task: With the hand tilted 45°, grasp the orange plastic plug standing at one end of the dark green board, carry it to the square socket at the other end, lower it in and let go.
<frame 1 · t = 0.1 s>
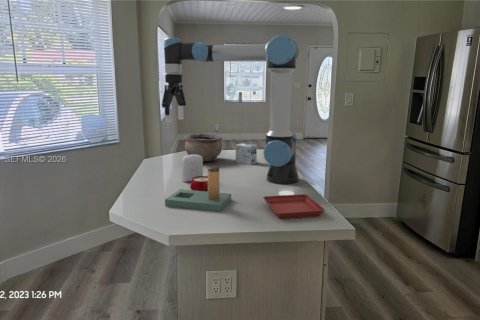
hand: (174, 120, 172), 28 cm above the kitchen island, tool pointing down, fingers open, 13 cm apart
socket board: (199, 202, 144), on the kitchen island
photo printer: (192, 180, 177), on the kitchen island
alarm clock: (202, 189, 164), on the kitchen island
plug: (213, 197, 142), point 2 cm above the kitchen island, touching socket board
ceramic bowl: (204, 161, 219), on the kitchen island
plant saucer: (292, 211, 137), on the kitchen island
light bulb box: (246, 163, 214), on the kitchen island
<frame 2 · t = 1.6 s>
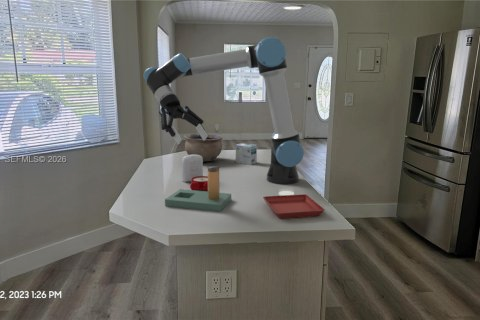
hand: (193, 140, 145), 24 cm above the kitchen island, tool tilted 45°, fingers open, 13 cm apart
nothing on the kitchen island moved.
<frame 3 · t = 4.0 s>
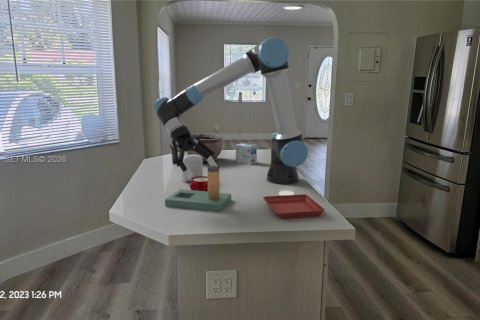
hand: (204, 174, 142), 11 cm above the kitchen island, tool tilted 45°, fingers open, 13 cm apart
nothing on the kitchen island moved.
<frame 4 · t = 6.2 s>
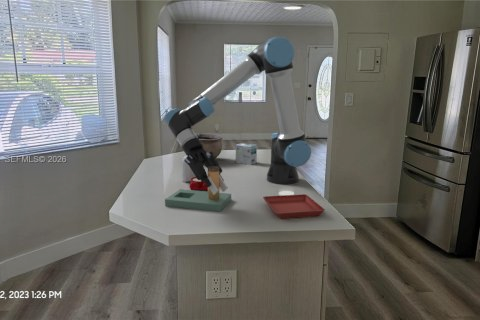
hand: (220, 191, 139), 6 cm above the kitchen island, tool tilted 45°, fingers closed on plug, 4 cm apart
plug: (213, 197, 142), point 2 cm above the kitchen island, touching gripper, socket board
everything else where it was.
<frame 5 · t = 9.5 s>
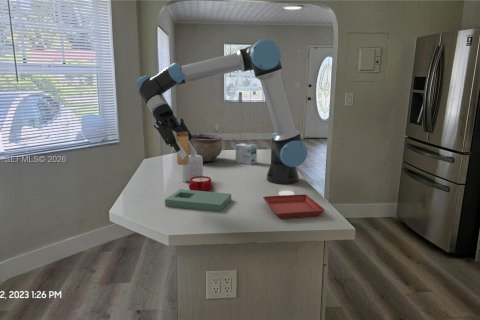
hand: (189, 156, 140), 19 cm above the kitchen island, tool tilted 45°, fingers closed on plug, 4 cm apart
plug: (183, 163, 143), point 15 cm above the kitchen island, touching gripper
everything else where it was.
when the fingers open (5 cm above the kitchen island, at t = 12.7 s): plug drops 1 cm, resting in socket board.
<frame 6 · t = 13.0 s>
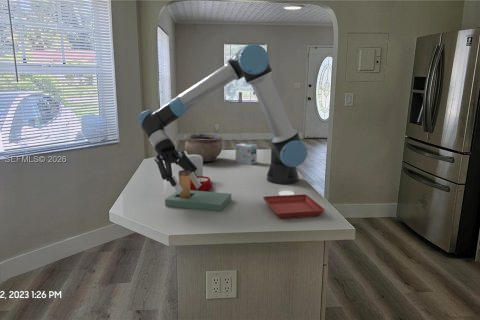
hand: (190, 189, 143), 5 cm above the kitchen island, tool tilted 45°, fingers open, 9 cm apart
plug: (184, 201, 146), resting in socket board
everything else where it was.
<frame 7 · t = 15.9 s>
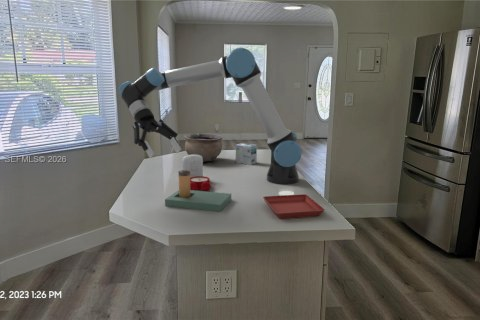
hand: (166, 153, 149), 18 cm above the kitchen island, tool tilted 45°, fingers open, 13 cm apart
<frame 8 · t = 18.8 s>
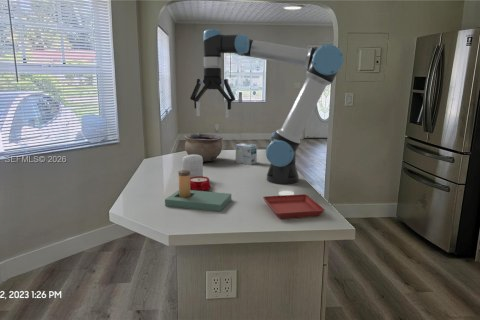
hand: (212, 116, 165), 31 cm above the kitchen island, tool pointing down, fingers open, 13 cm apart
at the end: plug 0.1 cm from the target spot on the socket board, point 0.0 cm above the socket board's base; plug tilted 0°; the gripper is holding nothing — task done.
